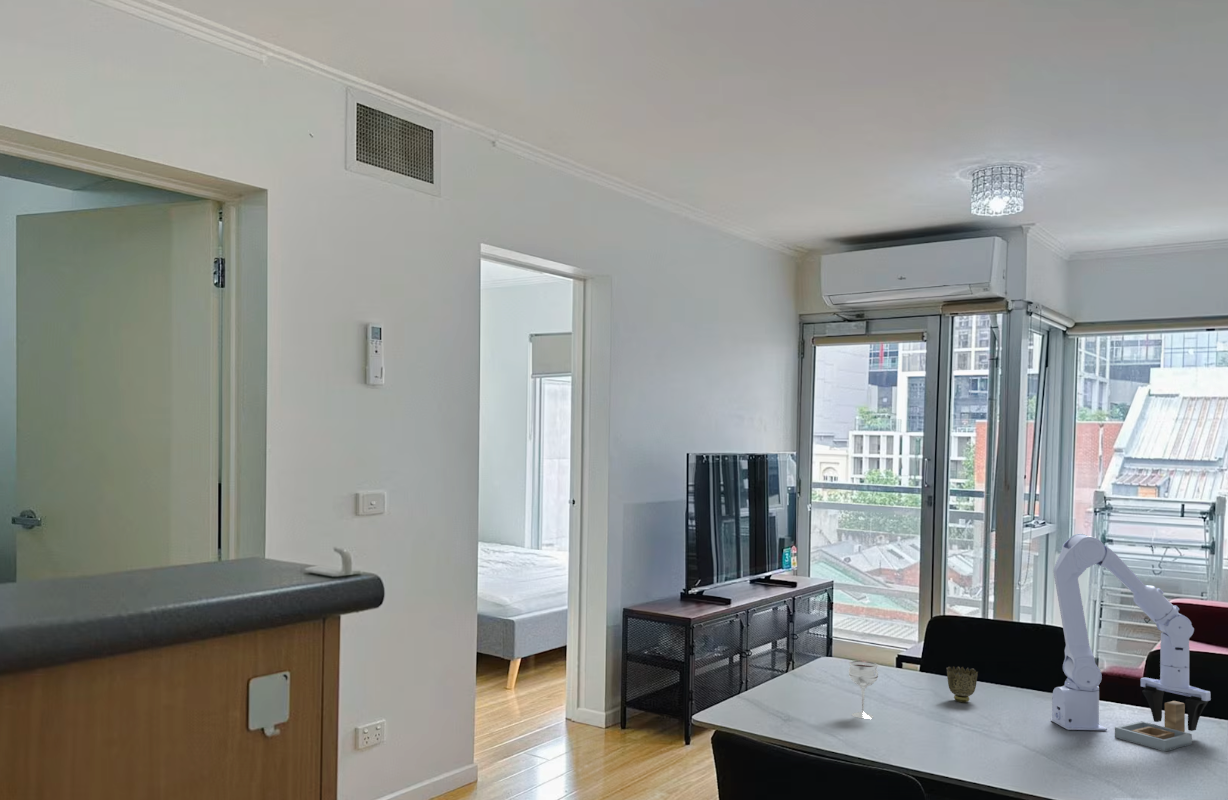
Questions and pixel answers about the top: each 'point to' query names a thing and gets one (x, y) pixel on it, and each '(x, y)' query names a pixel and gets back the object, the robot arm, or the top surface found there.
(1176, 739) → the grey tray
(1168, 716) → the tan wooden tall block
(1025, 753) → the top surface
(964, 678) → the cup
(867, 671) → the wineglass
